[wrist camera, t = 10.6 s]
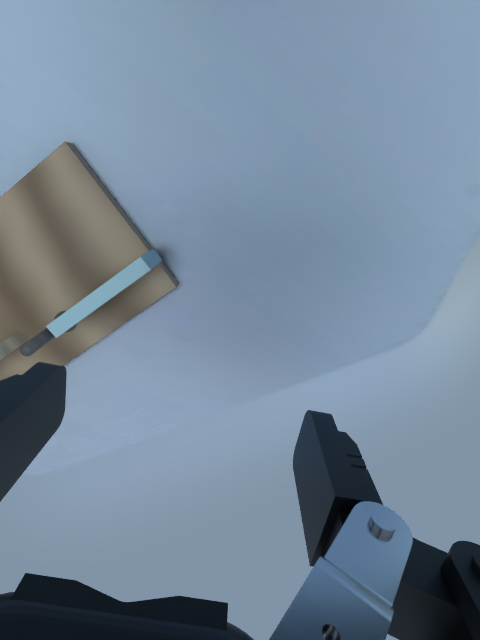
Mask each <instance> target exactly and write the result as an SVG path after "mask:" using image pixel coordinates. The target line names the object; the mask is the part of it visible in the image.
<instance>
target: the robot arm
mask: <svg viewBox="0 0 480 640" xmlns="http://www.w3.org/2000/svg"><path fill="white" fill-rule="evenodd" d="M65 396H66V368H65V367H64V366H61V365H55V364H49V363H44V362H37V363H36V364H35V365H33V366H32V367H31V368H30V369H29V370H27V371H26V372H25V373H24V374H22V375H18V374H16V375H13V376H11V377H8V378H6V379H3V380H1V381H0V501H1V500H2V499H3V497H4V496H5V495H6V494H7V492H8V491H9V490H10V489H11V487H12V486H13V485H14V484H15V482H16V481H17V480H18V478H19V477H20V476H21V475H22V473H23V472H24V471H25V470H26V468H27V467H28V466H29V465H30V463H31V462H32V461H33V459H34V458H35V457H36V456H37V454H38V453H39V452H40V451H41V449H42V448H43V447H44V446H45V444H46V443H47V442H48V440H49V439H50V438H51V437H52V435H53V434H54V433H55V432H56V430H57V429H58V428H59V426H60V424H61V422H62V419H63V416H64V412H65ZM293 470H294V476H295V482H296V487H297V493H298V499H299V505H300V511H301V517H302V522H303V528H304V534H305V540H306V545H307V551H308V557H309V563H310V566H314V567H313V569H312V570H311V572H310V574H309V575H308V577H307V578H306V580H305V582H304V584H303V585H302V587H301V588H300V590H299V592H298V594H297V595H296V596H295V598H294V600H293V601H292V603H291V605H290V606H289V608H288V610H287V611H286V613H285V615H284V616H283V618H282V620H281V621H280V623H279V624H278V626H277V628H276V629H275V631H274V633H273V634H272V636H271V637H270V639H269V640H385V639H386V636H387V634H389V635H391V636H393V637H395V638H397V639H399V640H480V545H478V544H475V543H472V542H468V541H458V542H456V543H454V544H453V545H452V547H451V548H450V550H449V552H448V553H446V552H444V551H441V550H439V549H437V548H435V547H432V546H430V545H428V544H425V543H423V542H421V541H418V540H417V539H415V538H413V537H412V534H411V531H410V529H409V527H408V526H407V524H406V523H405V522H404V520H403V519H402V518H401V517H400V516H399V515H398V514H396V513H395V512H394V511H392V510H391V509H389V508H388V507H386V506H384V505H383V504H382V501H381V499H380V497H379V494H378V492H377V490H376V488H375V485H374V483H373V481H372V479H371V476H370V474H369V472H368V470H367V469H366V465H365V462H364V460H363V459H362V456H361V453H360V451H359V449H358V447H357V444H356V443H355V442H354V441H353V440H352V439H351V438H350V437H349V436H348V435H347V433H345V432H340V431H338V430H337V427H336V424H335V422H334V419H333V417H332V415H331V414H327V413H322V412H316V411H311V410H308V411H307V412H306V414H305V416H304V420H303V423H302V426H301V430H300V433H299V437H298V440H297V444H296V447H295V451H294V457H293ZM227 611H228V603H224V602H217V601H210V600H204V599H197V598H190V597H183V596H174V597H167V598H159V599H151V600H144V601H137V602H121V601H118V600H116V599H114V598H112V597H110V596H108V595H106V594H103V593H101V592H99V591H97V590H95V589H93V588H91V587H89V586H87V585H84V584H82V583H80V582H78V581H75V580H69V579H62V578H55V577H48V576H42V575H35V574H28V573H25V575H24V577H23V578H22V580H21V582H20V584H19V585H18V587H17V589H16V591H15V592H10V593H5V594H0V640H253V638H251V637H250V636H249V635H248V634H246V633H245V632H244V631H242V630H241V629H239V628H238V627H236V626H234V625H232V624H230V623H228V622H227Z"/></svg>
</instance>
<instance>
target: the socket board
mask: <svg viewBox="0 0 480 640" xmlns="http://www.w3.org/2000/svg"><path fill="white" fill-rule="evenodd" d="M151 250H152V248H151V246H150V245H149V244H148V242H147V241H146V240H145V238H144V237H143V236H142V234H141V233H140V232H139V230H138V229H137V228H136V227H135V225H134V224H133V223H132V221H131V220H130V219H129V217H128V216H127V215H126V213H125V212H124V211H123V209H122V208H121V207H120V205H119V204H118V203H117V202H116V200H115V199H114V198H113V196H112V195H111V194H110V192H109V191H108V190H107V188H106V187H105V186H104V184H103V183H102V182H101V180H100V179H99V178H98V177H97V175H96V174H95V173H94V171H93V170H92V169H91V167H90V166H89V165H88V163H87V162H86V161H85V159H84V158H83V157H82V155H81V154H80V153H79V151H78V150H77V149H76V148H75V146H74V145H73V144H72V143H69V142H64V143H63V144H62V145H60V146H59V147H58V148H57V149H56V150H55V151H53V152H52V153H51V154H50V155H49V156H48V157H47V158H45V159H44V160H43V161H42V162H41V163H40V164H38V165H37V166H36V167H35V168H34V169H33V170H31V171H30V172H29V173H28V174H27V175H26V176H24V177H23V178H22V179H21V180H20V181H19V182H18V183H16V184H15V185H14V186H13V187H12V188H11V189H9V190H8V191H7V192H6V193H5V194H4V195H2V196H1V197H0V381H1V380H3V379H6V378H8V377H11V376H13V375H16V374H18V375H22V374H24V373H25V372H26V371H27V370H29V369H30V368H31V367H32V366H33V365H35V364H36V363H37V362H44V363H49V364H55V365H61V366H64V365H65V364H66V363H68V362H69V361H71V360H72V359H74V358H75V357H76V356H78V355H79V354H81V353H82V352H84V351H85V350H87V349H88V348H89V347H91V346H92V345H94V344H95V343H97V342H98V341H99V340H101V339H102V338H104V337H105V336H107V335H108V334H109V333H111V332H112V331H114V330H115V329H117V328H118V327H120V326H121V325H122V324H124V323H125V322H127V321H128V320H130V319H131V318H132V317H134V316H135V315H137V314H138V313H140V312H141V311H142V310H144V309H145V308H147V307H148V306H150V305H151V304H153V303H154V302H155V301H157V300H158V299H160V298H161V297H163V296H164V295H165V294H167V293H168V292H170V291H171V290H173V289H174V288H175V287H177V285H178V284H179V283H178V282H177V280H176V279H175V278H174V277H173V275H172V274H171V273H170V271H169V270H168V269H167V267H166V266H165V265H164V263H163V262H162V261H161V262H160V263H158V264H157V265H156V266H155V267H154V268H152V269H151V270H150V271H149V272H147V273H146V274H144V275H143V276H142V277H140V278H139V279H137V280H136V281H135V282H133V283H132V284H131V285H129V286H128V287H126V288H125V289H124V290H122V291H121V292H119V293H118V294H117V295H115V296H114V297H112V298H111V299H110V300H108V301H107V302H106V303H104V304H103V305H101V306H100V307H99V308H97V309H96V310H94V311H93V312H92V313H90V314H89V315H88V316H86V317H85V318H83V319H82V320H81V321H79V322H78V323H76V324H75V325H74V326H72V327H71V328H70V329H68V330H67V331H65V332H64V333H63V334H61V335H60V336H58V337H57V338H56V337H55V336H54V335H53V334H52V333H51V332H50V331H49V330H48V328H47V327H46V326H47V325H48V324H50V323H51V322H53V321H54V320H55V319H57V318H58V317H59V316H61V315H62V314H63V313H65V312H66V311H67V310H69V309H70V308H72V307H73V306H74V305H76V304H77V303H78V302H80V301H81V300H82V299H84V298H85V297H87V296H88V295H89V294H91V293H92V292H93V291H95V290H96V289H97V288H99V287H100V286H101V285H103V284H104V283H106V282H107V281H108V280H110V279H111V278H112V277H114V276H115V275H116V274H118V273H119V272H120V271H122V270H123V269H125V268H126V267H127V266H129V265H130V264H131V263H133V262H134V261H135V260H137V259H138V258H139V257H141V256H143V255H144V254H146V253H147V252H149V251H151Z"/></svg>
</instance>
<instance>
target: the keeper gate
mask: <svg viewBox="0 0 480 640" xmlns="http://www.w3.org/2000/svg"><path fill="white" fill-rule="evenodd" d="M161 261H162V259H161V258H160V256H159V255H158V254H157V252H156V251H155V250H154V249H152V250H151V251H149V252H147V253H146V254H144V255H143V256H141V257H139V258H138V259H137V260H135V261H134V262H133V263H131V264H130V265H129V266H127V267H126V268H125V269H123V270H122V271H120V272H119V273H118V274H116V275H115V276H114V277H112V278H111V279H110V280H108V281H107V282H106V283H104V284H103V285H101V286H100V287H99V288H97V289H96V290H95V291H93V292H92V293H91V294H89V295H88V296H87V297H85V298H84V299H82V300H81V301H80V302H78V303H77V304H76V305H74V306H73V307H72V308H70V309H69V310H67V311H66V312H65V313H63V314H62V315H61V316H59V317H58V318H57V319H55V320H54V321H53V322H51V323H50V324H48V325H47V326H46V327H47V328H48V330H49V331H50V332H51V333H52V334H53V335H54V336H55V337H56V338H57V337H58V336H60V335H61V334H63V333H64V332H65V331H67V330H68V329H70V328H71V327H72V326H74V325H75V324H76V323H78V322H79V321H81V320H82V319H83V318H85V317H86V316H88V315H89V314H90V313H92V312H93V311H94V310H96V309H97V308H99V307H100V306H101V305H103V304H104V303H106V302H107V301H108V300H110V299H111V298H112V297H114V296H115V295H117V294H118V293H119V292H121V291H122V290H124V289H125V288H126V287H128V286H129V285H131V284H132V283H133V282H135V281H136V280H137V279H139V278H140V277H142V276H143V275H144V274H146V273H147V272H149V271H150V270H151V269H152V268H154V267H155V266H156V265H157V264H158V263H160V262H161Z"/></svg>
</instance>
